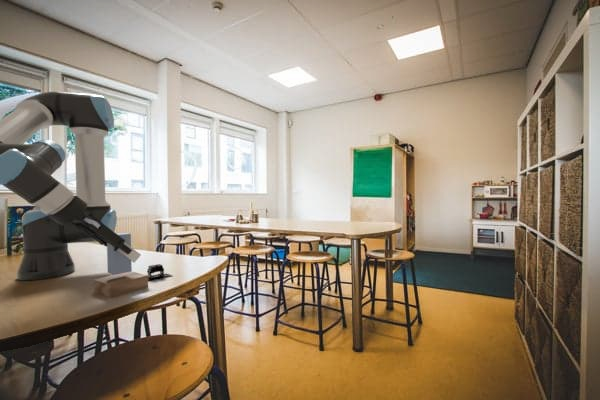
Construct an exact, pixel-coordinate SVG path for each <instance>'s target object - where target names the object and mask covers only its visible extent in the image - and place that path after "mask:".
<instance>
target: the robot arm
mask: <svg viewBox="0 0 600 400" xmlns="http://www.w3.org/2000/svg"><path fill="white" fill-rule="evenodd" d="M51 126H65V127H68V130H69V131H70V132H71V133H72V134H73V135H74V154H75V158H74V159H75V160H74V161H75V187H76V188H75V189H76V191H75V192H76V195H74V192H73V191H72V190H70V189H69V188H68V187H67V186H65V185H64V184H63V183H62V182H60V181H58V180H57V179H56V178H54V177H53V176H52V175H53V174H54V173H55V172H56V171H57V170H58V169H59V168H61V166H62V165H63V163H64V161H65V160H66V157H67V155H66V152H65V150H64V148H63V147H62V146H61V145H60V144H58V143H57V142H55V141H54V140H49V139H40V140H37V141H34V142H32V143H30V144H27V142H28V140H30V139H31V138H32V137H33V136H34V135H36V134H37V133H38V132H39V131H40V130H44V129H47V128H49V127H51ZM114 127H115V118H114V113H113V110H112V106H111V104H110V103H109V101H108V99H107V98H106V97H104V96H103V95H98V94H92V93H77V92H64V91H57V90H56V91H54V90H53V91H47V92H40V93H38V94H35V95H31V96H30V97H27V98H25V99H23V100H21V101H20V102H19V103H17V104H16V106H15V109H14V110H13V111H11V112H10V113H9V114H7V115H6V116H4V117H3V118H1V119H0V185H2V186H3V187H5V188H7V189H8V190H9V191H11V192H12V193H13V194H16V195H17V196H19V197H20V198H21V199H23V200H24V201H25V202H27V203H28V204H30V205H32V206H34V207H33V208H32V209H33V210H32V211H31V210H30V211H28V212H27V211H26V212H25V213H24V214H23V215H22V224H21V228H22V244H23V257H22V258H21V262H20V264H19V267H18V268H17V269H18V270H17V274H16V276H17V277H16V278H17V280H19V281H36V280H38V281H39V280H45V279H51V278H56V277H60V276H64V275H67V274H71V273H73V272H75V270H76V269H75V263H74V260H73V258H72V256H71V254H70V252H69V244H78V243H79V244H81V243H98V244H100V245H102V246H104V247H106V248H107V243H109V244H110V245H112V246H113V247H115V249H114V251H119V252H120V253H121V254H123V255H124V256H125V257H127V258H128V259H130V260H131V263H132V262H133V263H136V262H137V260H138V259H139V258H140V257H141V256H142V255H141V253H140V252H138V251H137V250H135V249H134V248H133V247H132V246H131V247H130V246H129V245H128V244H126V243H125V240H124V239H122V238H121V237H120V236H119V235H117V234H116V232H115V230H116V226H117V220H118V219H117V217H118V216H117V211H116V210H114V209H112V208H111V204H110V203H109V202H108V201H106V175H105V172H106V171H105V137H106V136H108V134H109V129H113V128H114Z"/></svg>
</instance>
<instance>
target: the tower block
mask: <svg viewBox="0 0 600 400" xmlns="http://www.w3.org/2000/svg"><path fill="white" fill-rule="evenodd" d="M115 233H116V232H115ZM116 234H117V235H119V236H120V237H121V238H122V239H124V240H125V243H126V244H128V245H129V246H130V247H132V236H131V235H132V233H128V232H118V233H116ZM114 249H115V247H113V246H112V245H110V244H109V243H107V247H106V253H107V254H106V256H107V257H106V258H107V260H106V261H107V273H108V274H111V275H116V274H121V273H126V272H130V271H132V269H133V267H132V261H131V260H130V259H128V258H127V257H125V256H124V255H123V254H121V253H120V252H119V251H114ZM132 272H133V271H132Z"/></svg>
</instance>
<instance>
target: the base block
mask: <svg viewBox="0 0 600 400" xmlns="http://www.w3.org/2000/svg"><path fill="white" fill-rule="evenodd" d="M147 288H149V282H148V274H143V273H140V272H137V271H130V272H126V273H121V274H116V275H113V274H111V275H108V276H106V275H105V276H103V277H99V278H98V277H97V278H95V279H93V293H96V294H98V295H101V296H104V297H107V298H108V299H115V298H118V297H122V296H125V295H128V294H131V293H135V292H138V291H141V290H144V289H145V290H146V289H147Z"/></svg>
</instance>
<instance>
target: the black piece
mask: <svg viewBox="0 0 600 400" xmlns="http://www.w3.org/2000/svg"><path fill="white" fill-rule="evenodd" d="M158 272H159V273H158ZM146 273H147V275H148V283H149V282H152V281H156V280H163V279H168V278H173V277H174V275H172V274H170V273H169V274H170V275H169V274H167V273H168V272H166V273H165V269H164V267H163V264H161V263H157V264H152V265H148V268H147V271H146ZM155 273H157V274H155Z"/></svg>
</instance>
